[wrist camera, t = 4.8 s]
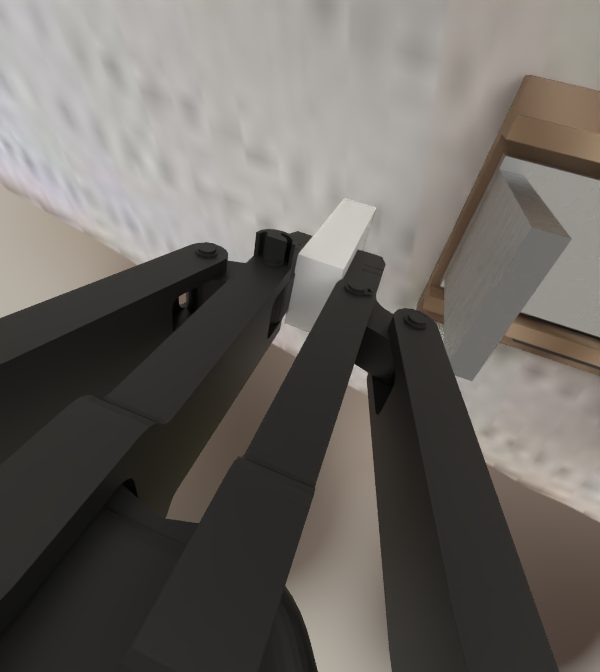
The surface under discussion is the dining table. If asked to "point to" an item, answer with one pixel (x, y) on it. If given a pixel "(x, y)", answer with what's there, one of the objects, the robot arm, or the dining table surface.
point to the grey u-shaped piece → (523, 260)
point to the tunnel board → (552, 149)
